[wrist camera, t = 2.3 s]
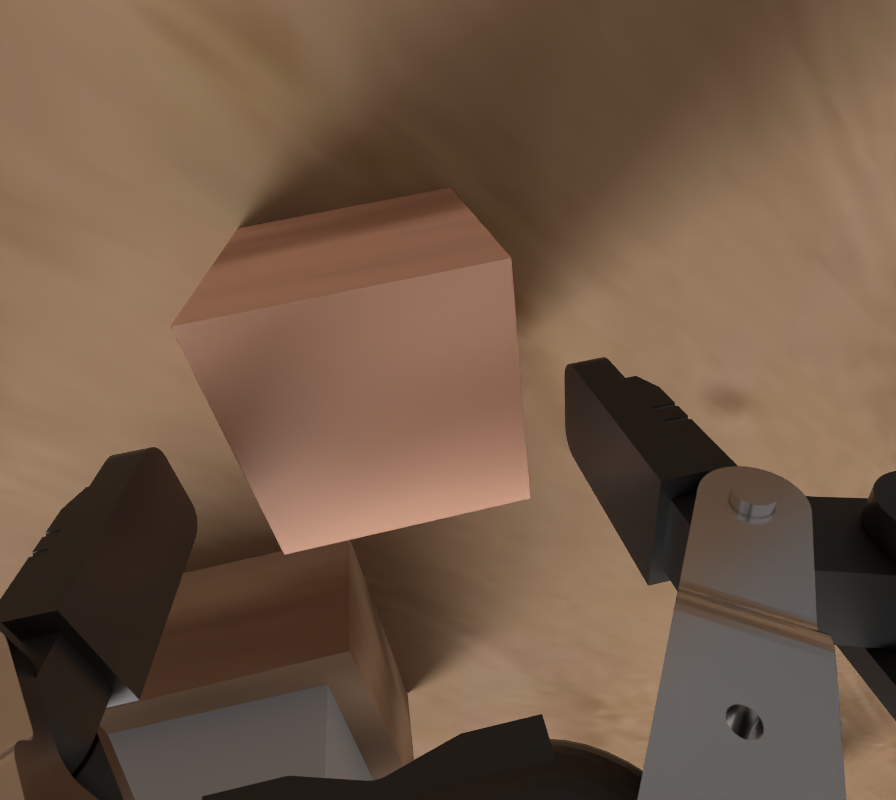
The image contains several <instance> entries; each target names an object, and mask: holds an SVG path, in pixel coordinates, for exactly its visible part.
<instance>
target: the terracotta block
mask: <svg viewBox="0 0 896 800" xmlns="http://www.w3.org/2000/svg"><path fill="white" fill-rule="evenodd" d="M171 329H172V331H173V333H174V335H175V337H176V339H177V341H178V343H179V345H180V347H181V349H182V351H183V353H184V355H185V357H186V359H187V361H188V363H189V365H190V367H191V369H192V371H193V373H194V375H195V377H196V379H197V381H198V383H199V385H200V387H201V389H202V391H203V393H204V395H205V397H206V399H207V401H208V403H209V405H210V407H211V409H212V411H213V413H214V415H215V417H216V419H217V421H218V423H219V425H220V427H221V429H222V431H223V433H224V435H225V437H226V439H227V441H228V443H229V445H230V447H231V449H232V451H233V453H234V455H235V457H236V459H237V461H238V463H239V465H240V467H241V469H242V471H243V473H244V475H245V477H246V479H247V481H248V483H249V485H250V487H251V489H252V491H253V493H254V495H255V497H256V499H257V501H258V503H259V505H260V507H261V509H262V511H263V513H264V515H265V517H266V519H267V521H268V523H269V525H270V527H271V529H272V531H273V533H274V535H275V537H276V539H277V541H278V543H279V545H280V547H281V549H282V551H283V553H284V555H285V554H290V553H294V552H299V551H303V550H307V549H312V548H316V547H320V546H325V545H329V544H333V543H338V542H342V541H347V540H351V539H355V538H360V537H364V536H368V535H373V534H377V533H382V532H386V531H390V530H395V529H399V528H403V527H408V526H412V525H416V524H421V523H425V522H430V521H434V520H438V519H443V518H447V517H451V516H456V515H460V514H464V513H469V512H473V511H478V510H482V509H486V508H491V507H495V506H499V505H504V504H508V503H513V502H517V501H521V500H526V499H530V489H529V477H528V464H527V451H526V438H525V426H524V413H523V400H522V388H521V375H520V362H519V349H518V337H517V324H516V311H515V299H514V286H513V273H512V261H511V257H510V256H509V255H508V254H507V252H506V251H505V250H504V249H503V248H502V247H501V245H500V244H499V243H498V242H497V241H496V240H495V238H494V237H493V236H492V235H491V234H490V233H489V231H488V230H487V229H486V228H485V227H484V226H483V224H482V223H481V222H480V221H479V220H478V219H477V218H476V216H475V215H474V214H473V213H472V212H471V211H470V209H469V208H468V207H467V206H466V205H465V204H464V202H463V201H462V200H461V199H460V198H459V197H458V195H457V194H456V193H455V192H454V191H453V190H452V188H451V187H449V188H444V189H439V190H434V191H429V192H423V193H418V194H413V195H408V196H403V197H398V198H392V199H387V200H382V201H377V202H372V203H366V204H361V205H356V206H351V207H346V208H341V209H335V210H330V211H325V212H320V213H315V214H310V215H304V216H299V217H294V218H289V219H284V220H278V221H273V222H268V223H263V224H258V225H253V226H247V227H242V228H238V229H237V230H236V232H235V233H234V235H233V236H232V238H231V239H230V241H229V242H228V244H227V245H226V246H225V248H224V249H223V251H222V252H221V254H220V255H219V257H218V258H217V260H216V261H215V262H214V264H213V265H212V267H211V268H210V270H209V271H208V273H207V274H206V276H205V277H204V279H203V280H202V281H201V283H200V284H199V286H198V287H197V289H196V290H195V292H194V293H193V295H192V296H191V298H190V299H189V300H188V302H187V303H186V305H185V306H184V308H183V309H182V311H181V312H180V314H179V315H178V316H177V318H176V319H175V321H174V322H173V324H172V325H171Z"/></svg>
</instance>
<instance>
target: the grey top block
mask: <svg viewBox="0 0 896 800" xmlns="http://www.w3.org/2000/svg"><path fill="white" fill-rule="evenodd" d="M108 736H109V738H110V741H111V743H112V746H113V748H114V750H115V753H116V755H117V758H118V760H119V762H120V765H121V767H122V770H123V772H124V774H125V777H126V779H127V782H128V784H129V786H130V789H131V791H132V794H133V796H134V798H135V800H202V796H206V795H210V794H214V793H218V792H222V791H226V790H230V789H235V788H239V787H243V786H247V785H251V784H255V783H259V782H263V781H268V780H272V779H276V778H280V777H284V776H303V777H318V778H334V779H349V780H364V781H372V780H373V778H372V776H371V774H370V772H369V770H368V768H367V766H366V763H365V761H364V759H363V757H362V755H361V753H360V751H359V749H358V747H357V745H356V742H355V740H354V738H353V736H352V734H351V732H350V730H349V728H348V726H347V724H346V721H345V719H344V717H343V715H342V713H341V711H340V709H339V707H338V705H337V703H336V700H335V698H334V696H333V694H332V692H331V690H330V688H329V686H328V684H326V685H322V686H318V687H313V688H309V689H304V690H300V691H296V692H291V693H287V694H282V695H278V696H274V697H269V698H265V699H260V700H256V701H252V702H247V703H243V704H238V705H234V706H230V707H225V708H221V709H216V710H212V711H208V712H203V713H199V714H194V715H190V716H186V717H181V718H177V719H172V720H168V721H164V722H159V723H155V724H150V725H146V726H142V727H137V728H133V729H128V730H124V731H120V732H115V733H111V734H108Z"/></svg>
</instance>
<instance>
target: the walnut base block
mask: <svg viewBox="0 0 896 800" xmlns="http://www.w3.org/2000/svg"><path fill="white" fill-rule="evenodd" d="M326 684H328V686H329V688H330V690H331V692H332V694H333V696H334V698H335V700H336V703H337V705H338V707H339V709H340V711H341V713H342V715H343V717H344V719H345V721H346V724H347V726H348V728H349V730H350V732H351V734H352V736H353V738H354V740H355V742H356V745H357V747H358V749H359V751H360V753H361V755H362V757H363V759H364V761H365V763H366V766H367V768H368V770H369V772H370V774H371V776H372V778H373V780H377V779H380V778H383V777H385V776H387V775H389V774H390V773H392V772H394V771H396V770H397V769H399V768H401V767H403V766H405V765H406V764H408V763H410V762H412V761H413V760H414V756H413V746H412V736H411V726H410V715H409V705H408V695H407V691H406V689H405V686H404V683H403V681H402V678H401V675H400V672H399V670H398V667H397V664H396V662H395V659H394V656H393V654H392V651H391V648H390V645H389V643H388V640H387V637H386V635H385V632H384V629H383V627H382V624H381V621H380V619H379V616H378V613H377V610H376V608H375V605H374V602H373V600H372V597H371V594H370V592H369V589H368V586H367V584H366V581H365V578H364V575H363V573H362V570H361V567H360V565H359V562H358V559H357V557H356V554H355V551H354V548H353V546H352V543H351V540H347V541H342V542H338V543H333V544H329V545H325V546H320V547H316V548H312V549H307V550H303V551H299V552H294V553H290V554H285V555H284V553H283V551H279V552H275V553H270V554H266V555H262V556H257V557H253V558H248V559H244V560H239V561H235V562H230V563H226V564H221V565H217V566H213V567H208V568H204V569H199V570H195V571H190V572H186V573H183V575H182V578H181V581H180V584H179V587H178V590H177V593H176V595H175V598H174V601H173V604H172V607H171V610H170V613H169V616H168V619H167V622H166V624H165V627H164V630H163V633H162V636H161V639H160V642H159V645H158V648H157V651H156V654H155V656H154V659H153V662H152V665H151V668H150V671H149V674H148V677H147V680H146V683H145V685H144V688H143V691H142V694H141V697H140V700H138V701H134V702H129V703H125V704H121V705H116V706H112V707H108V708H106V710H105V712H104V715H103V718H102V720H101V723H100V725H99V726H101V727H102V728H103V729H104V730H105V731H106V733H107V734H111V733H115V732H120V731H124V730H128V729H133V728H137V727H142V726H146V725H150V724H155V723H159V722H164V721H168V720H172V719H177V718H181V717H186V716H190V715H194V714H199V713H203V712H208V711H212V710H216V709H221V708H225V707H230V706H234V705H238V704H243V703H247V702H252V701H256V700H260V699H265V698H269V697H274V696H278V695H282V694H287V693H291V692H296V691H300V690H304V689H309V688H313V687H318V686H322V685H326Z"/></svg>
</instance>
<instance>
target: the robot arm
mask: <svg viewBox="0 0 896 800" xmlns="http://www.w3.org/2000/svg"><path fill="white" fill-rule="evenodd" d="M565 428H566V436H567V441H568V445H569V448H570V451H571V453H572V456H573V458H574V459H575V461H576V463H577V464H578V466H579V468H580V470H581V471H582V473H583V475H584V476H585V478H586V480H587V482H588V483H589V485H590V487H591V488H592V490H593V492H594V494H595V495H596V497H597V499H598V500H599V502H600V504H601V506H602V507H603V509H604V511H605V512H606V514H607V516H608V518H609V519H610V521H611V523H612V524H613V526H614V528H615V529H616V531H617V533H618V535H619V536H620V538H621V540H622V541H623V543H624V545H625V547H626V548H627V550H628V552H629V553H630V555H631V557H632V559H633V560H634V562H635V564H636V565H637V567H638V569H639V571H640V572H641V574H642V576H643V577H644V579H645V581H646V583H647V584H648V585H653V584H657V583H661V582H666V581H670V580H671V582H672V584H673V585H674V587H675V588H676V590H677V591H678V592H677V596H676V602H675V607H674V612H673V617H672V622H671V627H670V633H669V638H668V643H667V648H666V654H665V659H664V664H663V669H662V674H661V680H660V685H659V690H658V695H657V700H656V706H655V711H654V716H653V721H652V726H651V732H650V737H649V742H648V747H647V753H646V758H645V763H644V768H643V771H642V770H640V769H639V768H637V767H636V766H634V765H632V764H631V763H629V762H627V761H625V760H623V759H621V758H619V757H617V756H615V755H613V754H611V753H609V752H607V751H604V750H601V749H598V748H595V747H592V746H589V745H586V744H581V743H577V742H572V741H567V740H555V739H549V736H548V733H547V729H546V726H545V723H544V719H543V716H542V714H540V715H536V716H532V717H528V718H524V719H520V720H516V721H511V722H507V723H503V724H499V725H495V726H491V727H487V728H483V729H478V730H474V731H470V732H466V733H462V734H460V735H458V736H456V737H454V738H452V739H451V740H449V741H447V742H445V743H444V744H442V745H440V746H438V747H436V748H435V749H433V750H431V751H429V752H428V753H426V754H424V755H422V756H420V757H419V758H417V759H415V760H413V761H412V762H410V763H408V764H406V765H405V766H403V767H401V768H399V769H397V770H396V771H394V772H392V773H390V774H389V775H387V776H385V777H383V778H380V779H377V780H372V781H364V780H349V779H334V778H318V777H303V776H284V777H280V778H276V779H272V780H268V781H263V782H259V783H255V784H251V785H247V786H243V787H239V788H235V789H230V790H226V791H222V792H218V793H214V794H210V795H206V796H202V800H846V790H845V776H844V762H843V748H842V734H841V720H840V706H839V692H838V678H837V664H836V654H835V648H834V645H837V646H838V648H839V649H840V650H841V652H842V653H843V654H844V655H845V657H846V658H847V659H848V661H849V662H850V663H851V664H852V666H853V667H854V668H855V669H856V671H857V672H858V673H859V675H860V676H861V677H862V678H863V680H864V681H865V682H866V684H867V685H868V686H869V687H870V689H871V690H872V691H873V692H874V694H875V695H876V696H877V698H878V699H879V700H880V701H881V703H882V704H883V705H884V707H885V708H886V709H887V710H888V712H889V713H890V714H891V715H892V717H893V718H894V719H895V721H896V471H894V472H890V473H887V474H885V475H882V476H881V477H880V478H879V479H877V481H876V482H875V484H874V486H873V489H872V491H871V493H870V496H869V498H836V497H811V496H805V495H804V494H803V493H802V492H801V491H800V490H799V489H798V488H797V487H796V486H795V485H793V484H792V483H791V482H789V481H787V480H786V479H784V478H782V477H780V476H778V475H776V474H773V473H771V472H768V471H765V470H761V469H757V468H751V467H741V466H737V465H736V464H735V463H734V462H733V461H732V460H731V459H730V458H729V457H728V456H727V455H726V454H725V453H724V452H723V451H722V450H721V449H720V448H719V447H718V446H717V445H716V444H715V443H714V442H713V441H712V440H711V439H710V438H709V437H708V436H707V435H706V434H705V433H704V432H703V431H702V429H701V428H700V427H699V426H698V425H697V424H696V423H695V422H694V421H693V420H692V419H688V415H687V414H686V413H685V412H684V411H683V410H682V409H681V408H680V407H679V406H675V402H674V401H673V400H672V399H671V398H670V397H669V396H668V395H667V394H666V393H665V392H664V391H663V390H662V389H661V388H660V387H658V386H656V385H654V384H652V383H650V382H647V381H645V380H643V379H641V378H639V377H637V376H633V377H628V378H625V377H624V376H623V375H622V374H621V373H620V372H619V371H618V370H617V368H616V367H615V366H614V365H613V364H612V363H611V362H610V361H609V360H608V359H607V358H605V357H602V358H597V359H592V360H587V361H582V362H577V363H572V364H568V365H567V366H566V369H565ZM196 533H197V517H196V513H195V509H194V506H193V504H192V502H191V501H190V499H189V497H188V495H187V494H186V492H185V490H184V488H183V486H182V485H181V483H180V481H179V479H178V478H177V476H176V474H175V472H174V471H173V469H172V467H171V465H170V464H169V462H168V460H167V458H166V457H165V455H164V454H163V453H162V451H160V450H159V449H158V448H155V447H152V448H146V449H141V450H137V451H132V452H127V453H122V454H117V455H113V456H110V457H109V458H108V459H107V460H106V461H105V463H104V465H103V466H102V468H101V469H100V471H99V472H98V474H97V475H96V477H95V478H94V480H93V482H92V483H91V485H90V486H89V487H86V488H85V489H84V490H83V491H82V492H81V493H79V494H78V495H77V496H76V497H75V498H74V499H73V500H72V501H70V502H69V503H68V504H67V505H66V506H65V507H64V508H63V509H61V511H60V512H59V514H58V515H57V517H56V518H55V520H54V521H53V523H52V524H51V526H50V527H49V528H48V530H47V531H46V537H42V539H41V540H40V542H39V543H38V545H37V546H36V548H35V549H34V551H33V552H32V553H33V557H29V558H28V559H27V561H26V562H25V564H24V565H23V567H22V568H21V570H20V571H19V573H18V574H17V576H16V577H15V579H14V580H13V581H12V583H11V584H10V586H9V587H8V589H7V590H6V592H5V593H4V595H3V596H2V598H1V599H0V800H135V798H134V796H133V794H132V791H131V789H130V786H129V784H128V782H127V779H126V777H125V774H124V772H123V770H122V767H121V765H120V762H119V760H118V758H117V755H116V753H115V750H114V748H113V746H112V743H111V741H110V738H109V736H108V734H107V733H106V731H105V730H104V729H103V728H102V727H101V726H99V725H100V723H101V720H102V718H103V715H104V712H105V710H106V708H108V707H112V706H116V705H121V704H125V703H129V702H134V701H138V700H140V697H141V694H142V691H143V688H144V685H145V683H146V680H147V677H148V674H149V671H150V668H151V665H152V662H153V659H154V656H155V654H156V651H157V648H158V645H159V642H160V639H161V636H162V633H163V630H164V627H165V624H166V622H167V619H168V616H169V613H170V610H171V607H172V604H173V601H174V598H175V595H176V593H177V590H178V587H179V584H180V581H181V578H182V575H183V572H184V569H185V566H186V563H187V561H188V558H189V555H190V552H191V549H192V546H193V543H194V540H195V537H196Z"/></svg>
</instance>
